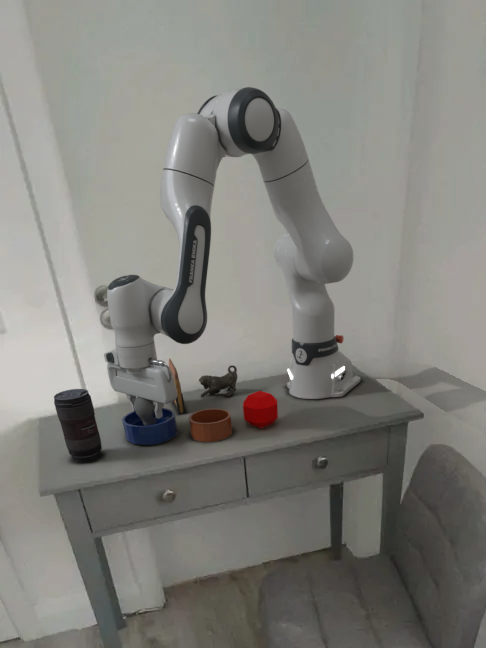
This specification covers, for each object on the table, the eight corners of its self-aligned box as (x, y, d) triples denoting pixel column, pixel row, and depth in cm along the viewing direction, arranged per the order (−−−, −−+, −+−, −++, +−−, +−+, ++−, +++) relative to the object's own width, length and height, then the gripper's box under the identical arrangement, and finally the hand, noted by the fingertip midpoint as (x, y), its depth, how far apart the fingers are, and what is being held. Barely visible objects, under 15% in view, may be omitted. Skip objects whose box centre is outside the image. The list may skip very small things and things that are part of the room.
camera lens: (105, 448, 147) (90, 385, 138) (103, 462, 140) (88, 397, 131) (71, 452, 146) (54, 389, 137) (68, 466, 140) (50, 401, 131)
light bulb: (137, 432, 152) (129, 393, 146) (160, 427, 154) (153, 388, 148) (143, 440, 148) (134, 400, 142) (166, 435, 149) (159, 395, 143)
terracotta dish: (211, 423, 156) (208, 405, 153) (240, 430, 150) (239, 413, 148) (182, 436, 150) (180, 418, 147) (212, 445, 144) (210, 426, 142)
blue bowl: (153, 423, 158) (150, 404, 155) (188, 432, 152) (185, 413, 149) (115, 439, 151) (111, 420, 148) (150, 450, 144) (146, 430, 141)
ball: (262, 416, 158) (260, 386, 153) (284, 423, 153) (282, 393, 148) (239, 425, 153) (236, 395, 149) (261, 433, 148) (258, 402, 144)
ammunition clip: (185, 413, 163) (178, 367, 155) (178, 414, 162) (171, 368, 155) (179, 400, 171) (172, 356, 164) (172, 401, 171) (165, 357, 163)
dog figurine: (234, 388, 177) (232, 362, 172) (242, 394, 172) (239, 367, 168) (195, 396, 173) (192, 369, 169) (202, 402, 169) (198, 375, 164)
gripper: (178, 358, 136) (187, 418, 144) (119, 347, 147) (130, 403, 155) (157, 365, 132) (167, 427, 140) (98, 353, 143) (111, 411, 151)
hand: (147, 414), depth 148 cm, fingers open, 6 cm apart
